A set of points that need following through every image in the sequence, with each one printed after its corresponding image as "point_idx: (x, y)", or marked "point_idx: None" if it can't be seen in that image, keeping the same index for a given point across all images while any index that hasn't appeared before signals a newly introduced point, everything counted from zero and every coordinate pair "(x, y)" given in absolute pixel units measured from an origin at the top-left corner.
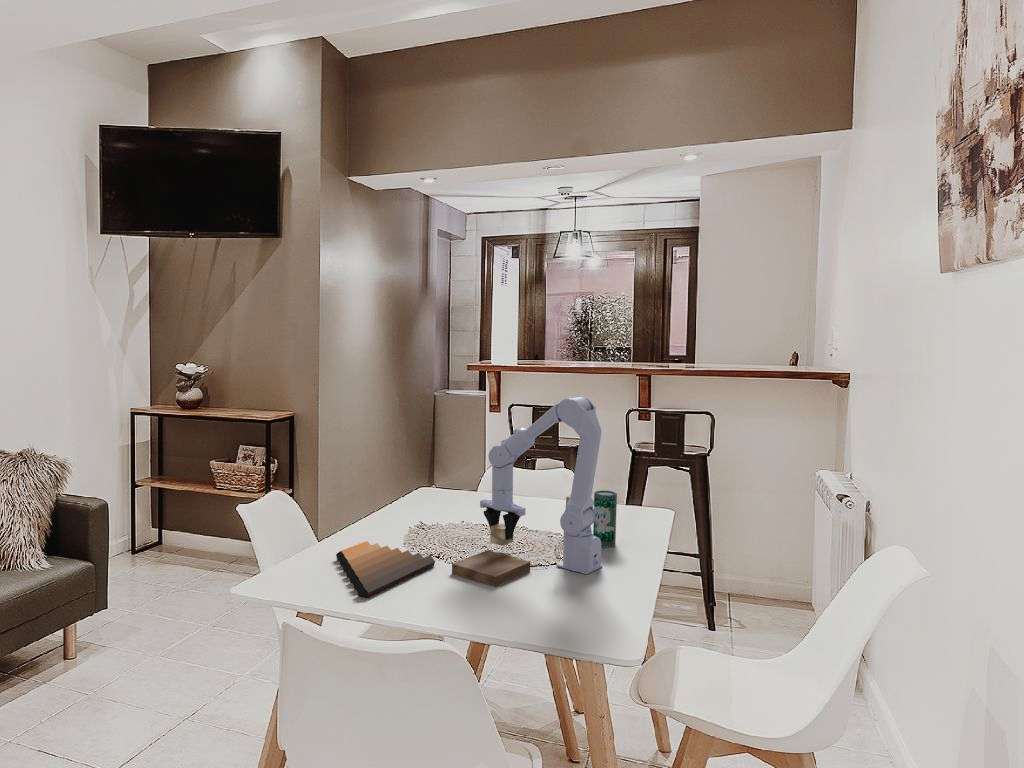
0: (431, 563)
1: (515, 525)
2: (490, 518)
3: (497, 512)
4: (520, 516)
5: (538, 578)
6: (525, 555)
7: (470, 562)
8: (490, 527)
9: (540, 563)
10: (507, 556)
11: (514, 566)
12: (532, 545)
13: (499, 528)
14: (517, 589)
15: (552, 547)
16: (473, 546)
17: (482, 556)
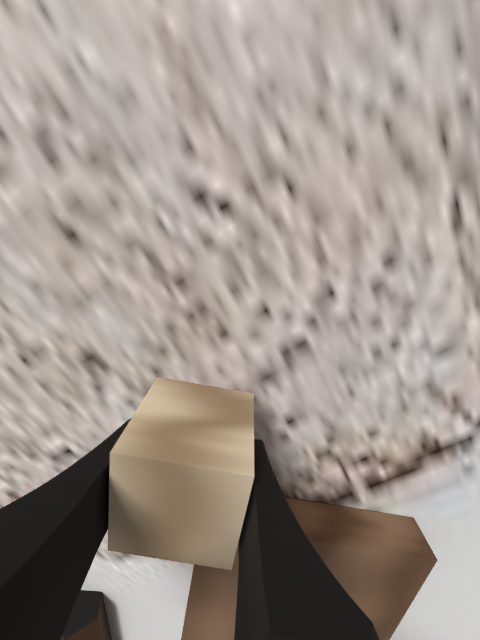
0: (101, 626)
1: (293, 522)
2: (63, 629)
3: (25, 616)
4: (367, 619)
5: (461, 552)
6: (329, 379)
7: (224, 632)
8: (111, 541)
9: (429, 435)
10: (320, 549)
11: (391, 612)
12: (299, 211)
13: (192, 561)
14: (419, 627)
15: (430, 179)
16: (51, 384)
17: (226, 581)
